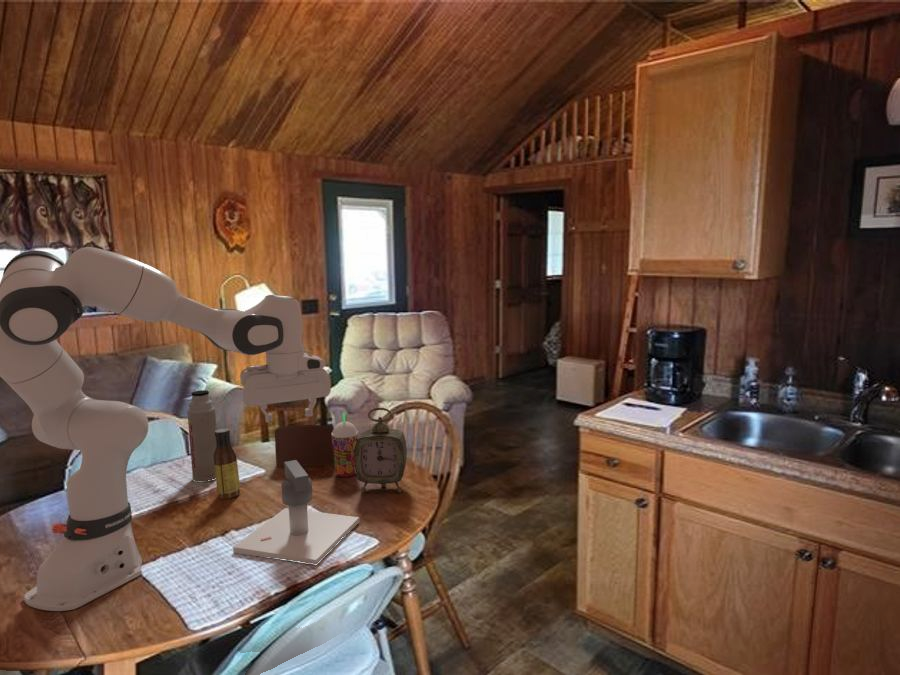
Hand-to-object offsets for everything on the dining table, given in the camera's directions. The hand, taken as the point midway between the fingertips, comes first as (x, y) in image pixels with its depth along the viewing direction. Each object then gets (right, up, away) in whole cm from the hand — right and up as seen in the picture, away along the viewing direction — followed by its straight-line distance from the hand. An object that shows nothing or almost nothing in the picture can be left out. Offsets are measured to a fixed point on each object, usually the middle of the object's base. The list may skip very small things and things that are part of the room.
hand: (289, 418), depth 139 cm
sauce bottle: (-26, -27, +30) cm, 48 cm away
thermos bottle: (-39, -25, +44) cm, 64 cm away
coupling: (+1, -20, +2) cm, 20 cm away
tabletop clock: (+19, -26, +33) cm, 46 cm away
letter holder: (-9, -23, +57) cm, 63 cm away
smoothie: (+6, -24, +45) cm, 51 cm away
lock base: (+1, -30, +4) cm, 30 cm away
